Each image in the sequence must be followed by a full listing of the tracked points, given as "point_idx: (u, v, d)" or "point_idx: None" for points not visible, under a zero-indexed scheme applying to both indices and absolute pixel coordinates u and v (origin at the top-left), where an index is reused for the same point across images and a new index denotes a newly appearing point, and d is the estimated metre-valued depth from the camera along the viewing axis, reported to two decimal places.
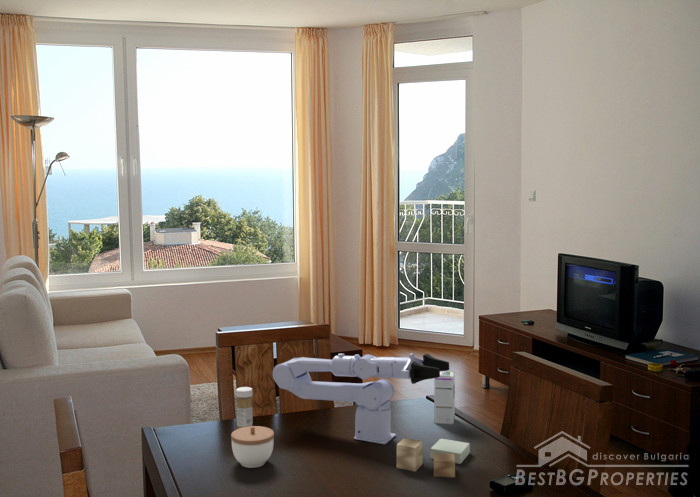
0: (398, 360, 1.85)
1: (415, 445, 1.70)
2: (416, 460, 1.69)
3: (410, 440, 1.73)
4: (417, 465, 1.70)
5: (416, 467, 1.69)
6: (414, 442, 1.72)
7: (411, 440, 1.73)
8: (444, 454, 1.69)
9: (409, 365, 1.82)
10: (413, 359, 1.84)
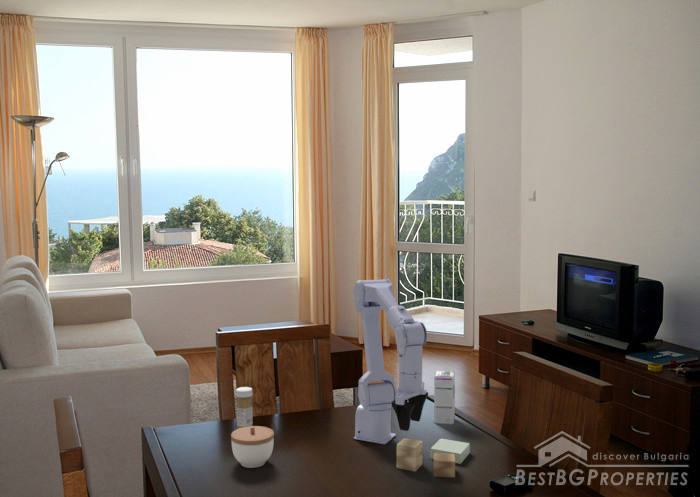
0: (417, 379, 1.68)
1: (415, 445, 1.70)
2: (416, 460, 1.69)
3: (410, 440, 1.73)
4: (417, 465, 1.70)
5: (416, 467, 1.69)
6: (414, 442, 1.72)
7: (411, 440, 1.73)
8: (444, 454, 1.69)
9: None
10: None
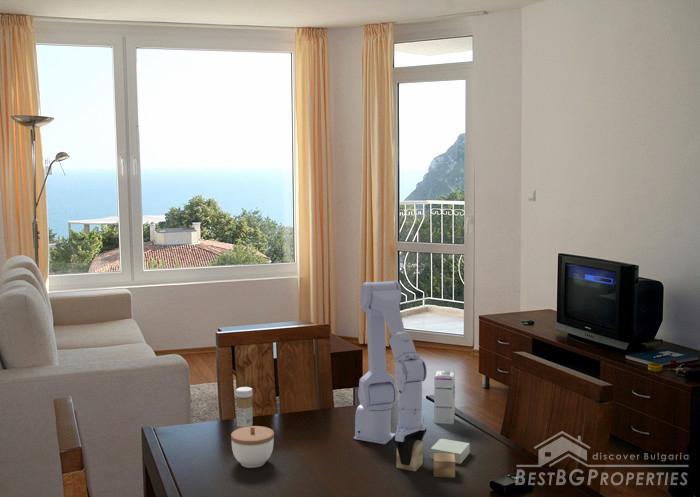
0: (416, 415, 1.68)
1: (415, 445, 1.70)
2: (416, 459, 1.69)
3: None
4: (417, 465, 1.70)
5: (416, 467, 1.69)
6: None
7: None
8: (444, 454, 1.69)
9: None
10: None
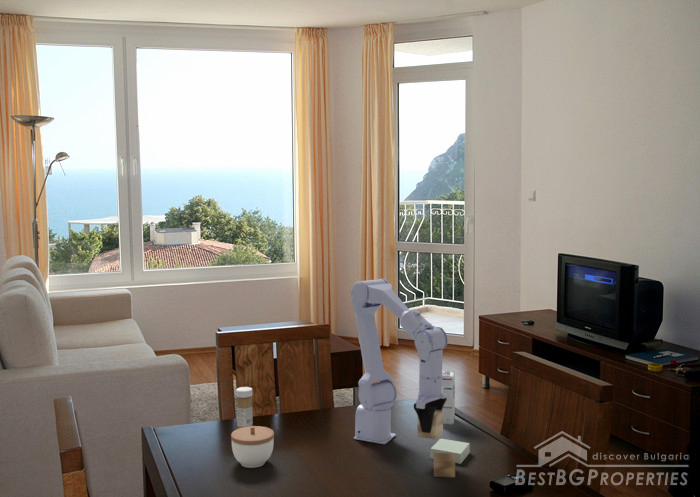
0: (437, 384, 1.71)
1: (436, 414, 1.72)
2: (437, 428, 1.72)
3: None
4: (438, 433, 1.72)
5: (437, 435, 1.72)
6: (435, 411, 1.74)
7: None
8: (444, 454, 1.69)
9: None
10: None
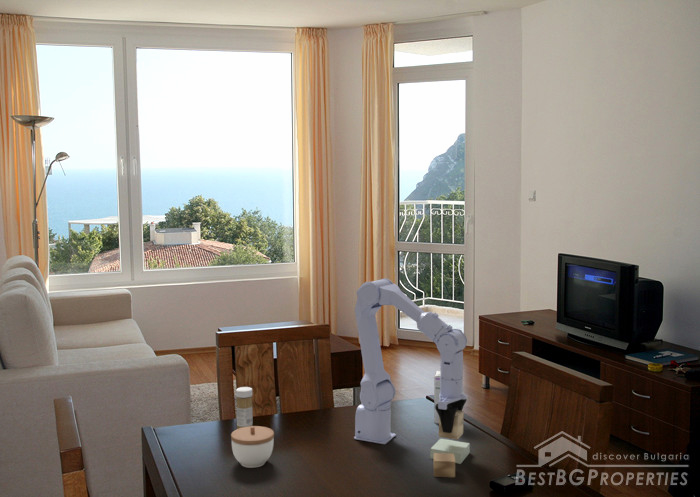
0: (458, 385, 1.75)
1: (457, 414, 1.76)
2: (458, 428, 1.75)
3: None
4: (459, 433, 1.76)
5: (458, 435, 1.75)
6: (456, 412, 1.78)
7: None
8: (444, 454, 1.69)
9: None
10: None
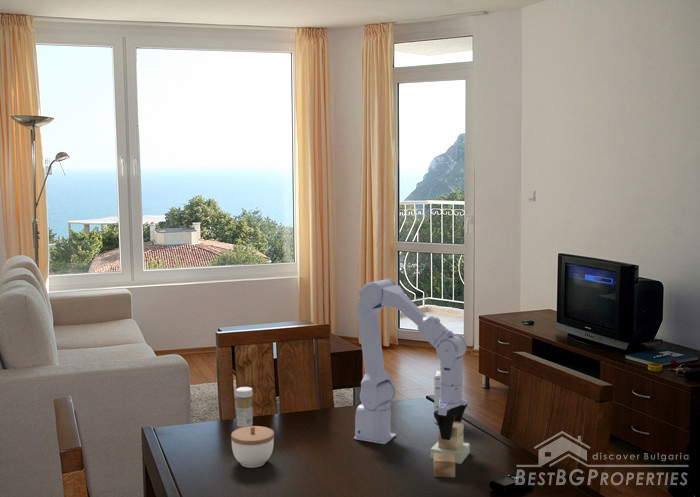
0: (458, 391, 1.75)
1: (456, 426, 1.76)
2: (457, 440, 1.75)
3: None
4: (458, 445, 1.76)
5: (457, 447, 1.76)
6: (455, 423, 1.78)
7: None
8: (444, 454, 1.69)
9: None
10: None
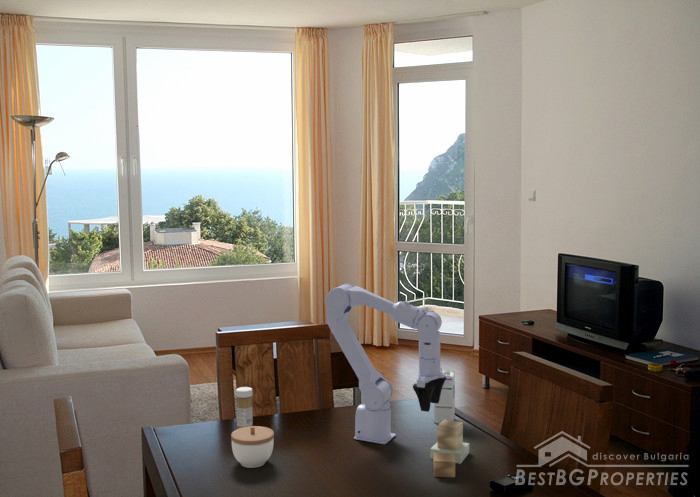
0: (436, 364, 1.82)
1: (455, 426, 1.76)
2: (456, 440, 1.75)
3: (450, 421, 1.79)
4: (457, 445, 1.76)
5: (456, 447, 1.75)
6: (454, 423, 1.78)
7: (451, 421, 1.79)
8: (444, 454, 1.69)
9: None
10: None
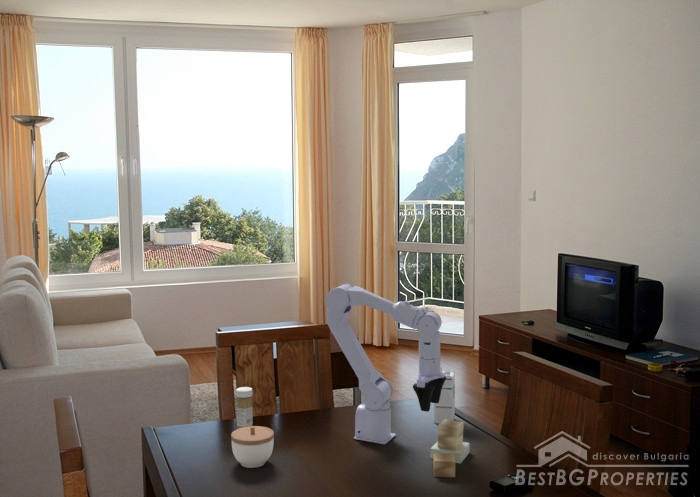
0: (436, 364, 1.82)
1: (456, 426, 1.76)
2: (457, 440, 1.75)
3: (451, 421, 1.79)
4: (458, 445, 1.76)
5: (457, 447, 1.75)
6: (455, 423, 1.78)
7: (452, 421, 1.79)
8: (444, 454, 1.69)
9: None
10: None
